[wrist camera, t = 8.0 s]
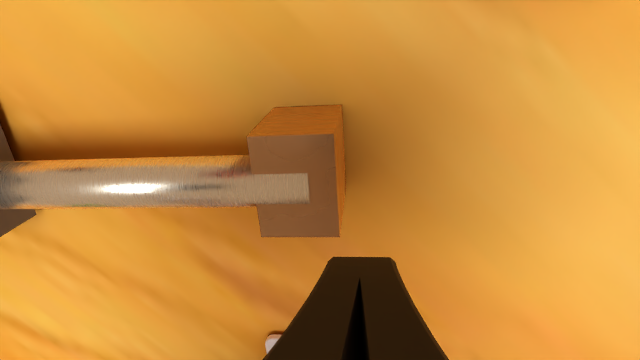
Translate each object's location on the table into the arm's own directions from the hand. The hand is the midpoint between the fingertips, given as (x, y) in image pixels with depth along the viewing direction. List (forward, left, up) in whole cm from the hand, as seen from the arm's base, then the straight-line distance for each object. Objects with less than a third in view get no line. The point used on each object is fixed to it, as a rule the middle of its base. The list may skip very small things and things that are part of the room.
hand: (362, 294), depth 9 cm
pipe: (0, +12, -10) cm, 16 cm away
